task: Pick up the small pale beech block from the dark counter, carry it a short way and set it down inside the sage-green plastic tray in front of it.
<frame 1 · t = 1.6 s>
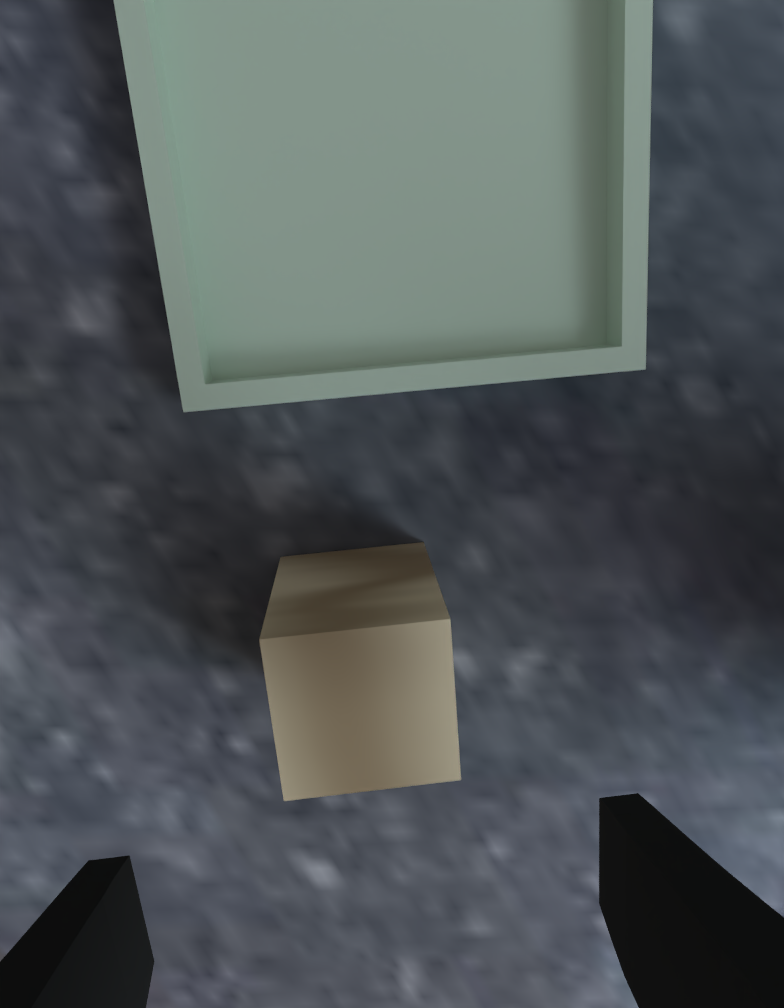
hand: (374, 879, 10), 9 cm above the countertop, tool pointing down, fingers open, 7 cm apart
tray: (394, 148, 16), on the countertop
beech block: (359, 614, 19), on the countertop
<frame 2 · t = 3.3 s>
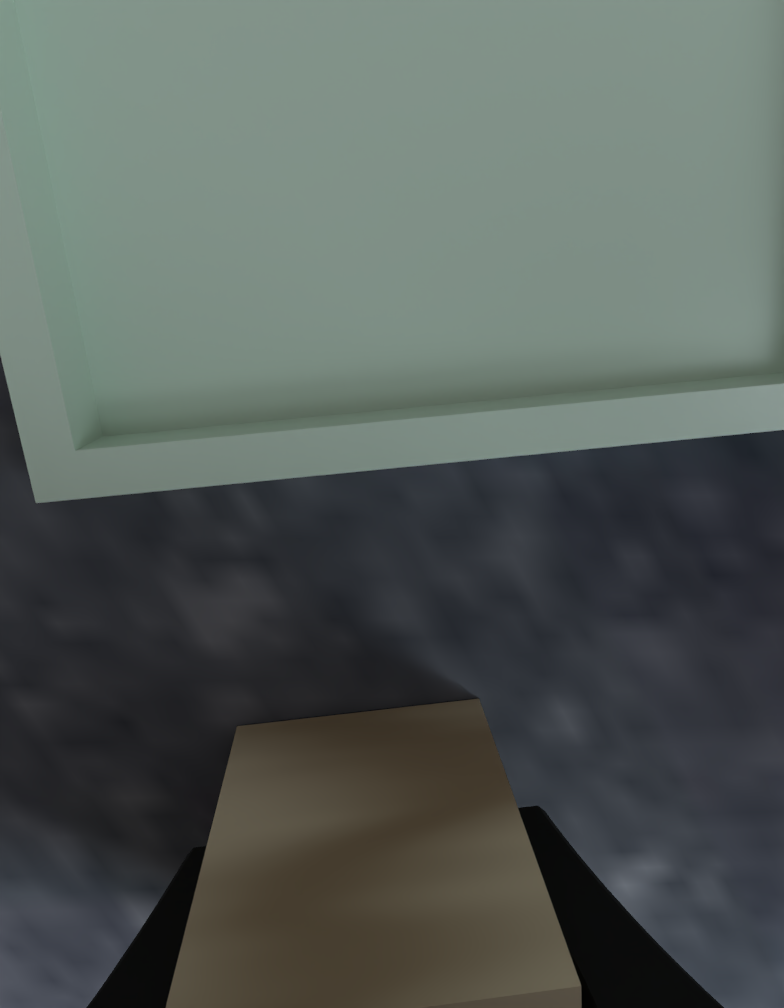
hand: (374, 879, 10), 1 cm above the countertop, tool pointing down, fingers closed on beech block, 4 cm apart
beech block: (370, 813, 12), on the countertop, touching gripper
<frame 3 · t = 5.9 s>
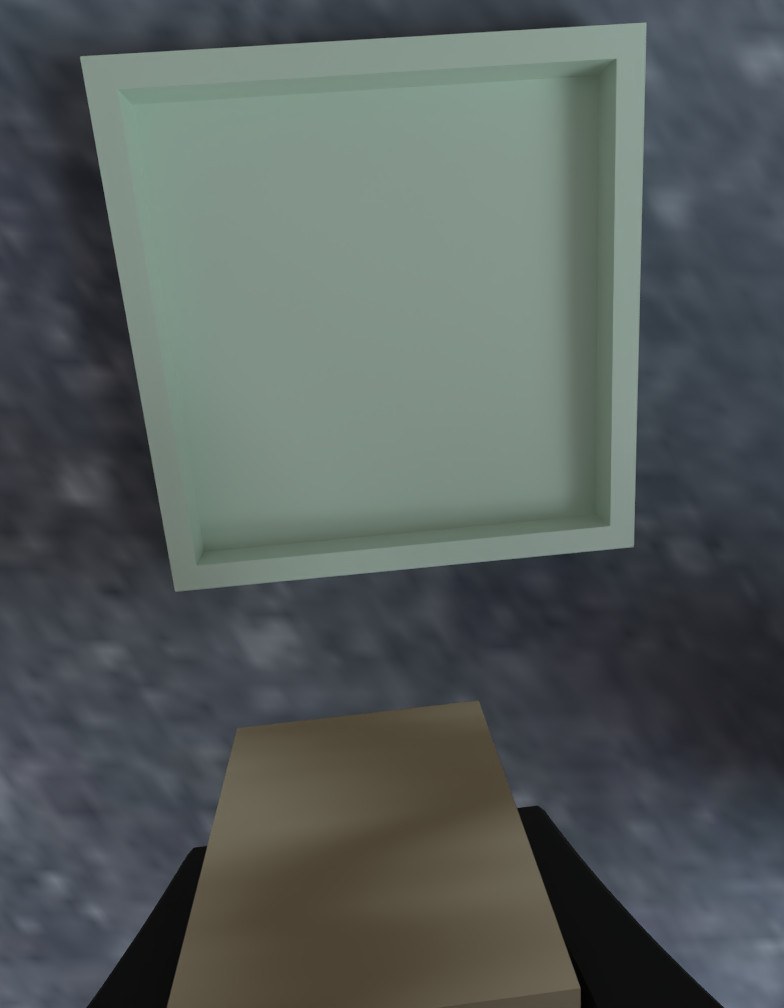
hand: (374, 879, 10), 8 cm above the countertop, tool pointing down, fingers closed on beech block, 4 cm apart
tray: (386, 329, 16), on the countertop
beech block: (370, 814, 12), point 7 cm above the countertop, touching gripper
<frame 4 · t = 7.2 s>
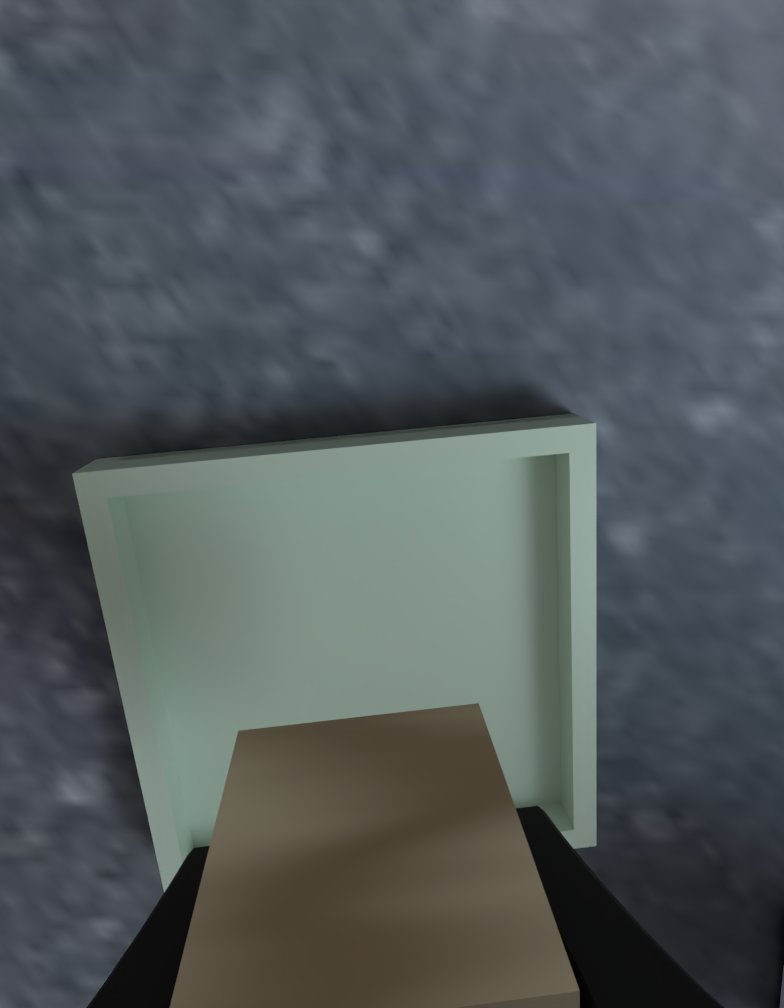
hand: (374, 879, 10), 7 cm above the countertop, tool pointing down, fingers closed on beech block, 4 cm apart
tray: (361, 650, 17), on the countertop
beech block: (370, 816, 12), point 6 cm above the countertop, touching gripper
when the fingers open (3 cm above the countertop, at t = 8.5 s): beech block stays where it is, resting on tray.
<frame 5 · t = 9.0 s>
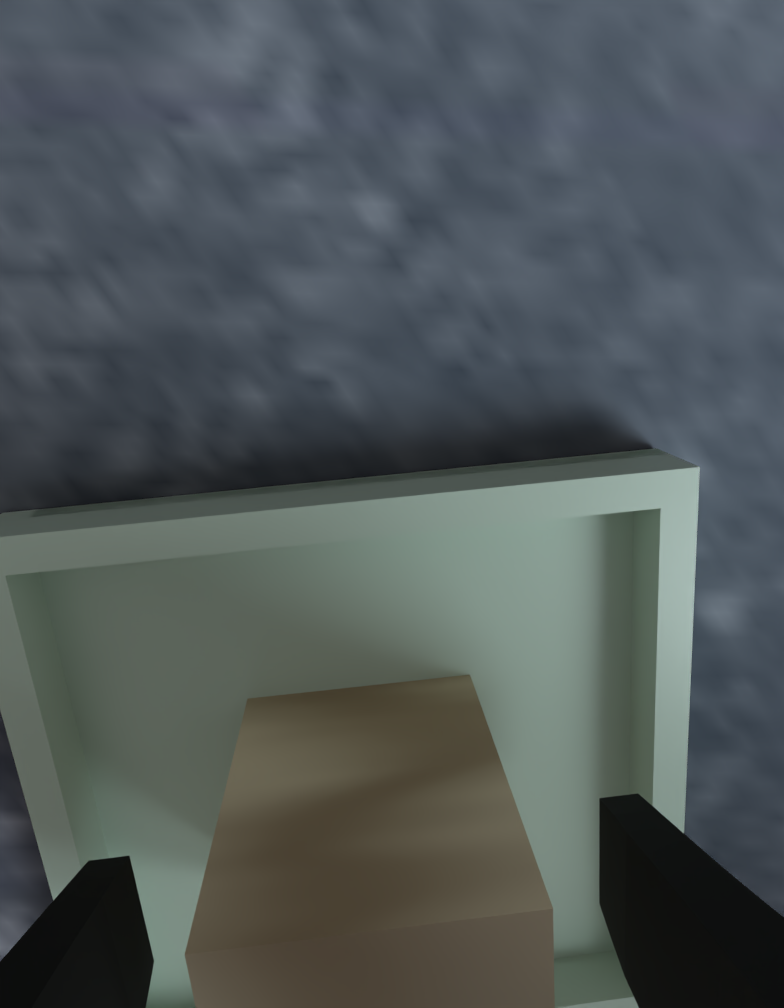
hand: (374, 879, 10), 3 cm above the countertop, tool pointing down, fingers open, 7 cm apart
tray: (367, 759, 13), on the countertop
beech block: (369, 780, 13), resting on tray
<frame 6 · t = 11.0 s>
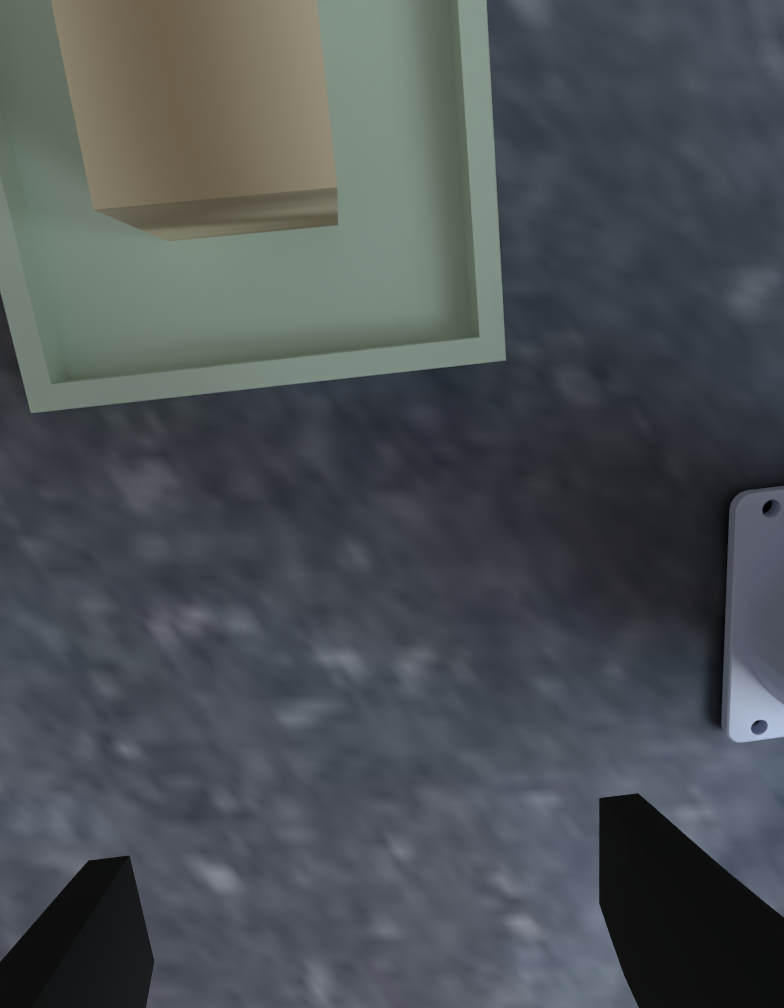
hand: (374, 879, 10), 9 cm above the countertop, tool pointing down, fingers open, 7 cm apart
tray: (242, 139, 16), on the countertop
beech block: (240, 139, 15), resting on tray
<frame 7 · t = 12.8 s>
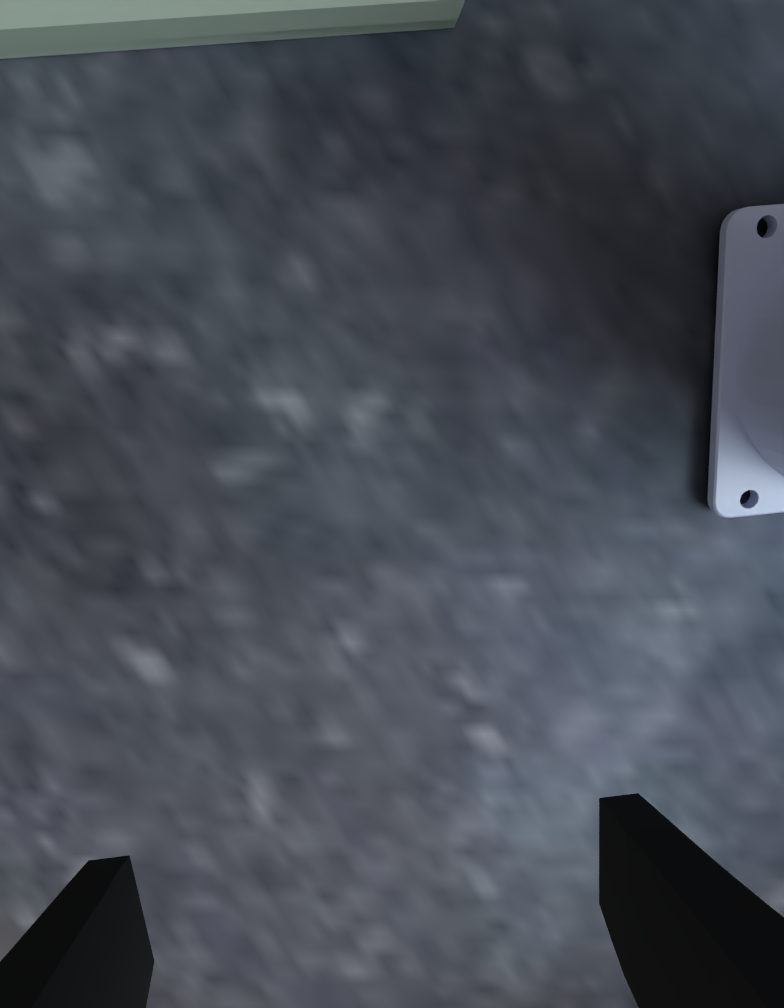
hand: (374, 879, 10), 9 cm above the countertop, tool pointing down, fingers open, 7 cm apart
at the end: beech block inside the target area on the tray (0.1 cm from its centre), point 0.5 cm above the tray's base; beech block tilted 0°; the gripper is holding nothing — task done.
